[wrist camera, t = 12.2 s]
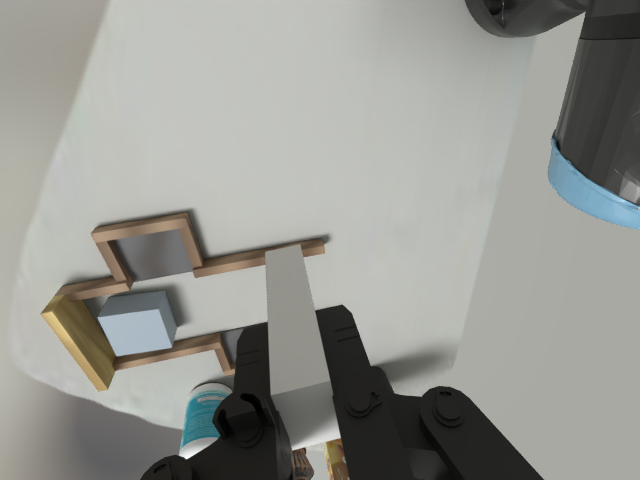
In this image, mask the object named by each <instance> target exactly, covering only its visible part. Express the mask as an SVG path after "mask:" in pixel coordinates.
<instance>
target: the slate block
mask: <svg viewBox="0 0 640 480" xmlns="http://www.w3.org/2000/svg"><path fill="white" fill-rule="evenodd" d="M97 318H98V320H99V322H100V324H101V326H102V328H103V330H104V332H105V334H106V336H107V338H108V340H109V342H110V344H111V346H112V348H113V350H114V352H115V354H116V356H123V355H129V354H135V353H142V352H148V351H155V350H161V349H167V348H172V346H173V342H174V338H175V334H176V330H177V326H176V323H175V320H174V317H173V314H172V311H171V308H170V305H169V302H168V299H167V296H166V293H165V290H163V291H155V292H147V293H140V294H132V295H124V296H116V297H108V299H107V301H106V303H105V305H104V306H103V308H102V310H101V312H100V314H99V315H98V317H97Z"/></svg>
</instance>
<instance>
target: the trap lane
mask: <svg viewBox="0 0 640 480" xmlns="http://www.w3.org/2000/svg"><path fill="white" fill-rule="evenodd" d="M91 236H92V238H93V240H94V241H95V243H96V245H97V247H98V249H99V251H100V252H101V254H102V256H103V258H104V260H105V262H106V264H107V265H108V267H109V269H110V271H111V273H112V275H113V277H109V278H104V279H98V280H93V281H87V282H82V283H77V284H71V285H66V286H62V287H61V288H60V289H59V291H58V292H57V293H56V294H55V296H54V297H53V298H52V300H51V301H50V302H49V303H48V305H47V306H46V307H45V309H44V310H43V311H42V312H41V315H42V317H43V318H44V319H45V321H46V322H47V323H48V325H49V326H50V327H51V329H52V330H53V331H54V333H55V334H56V335H57V337H58V338H59V339H60V341H61V342H62V343H63V345H64V346H65V347H66V349H67V350H68V351H69V353H70V354H71V355H72V357H73V358H74V359H75V361H76V362H77V363H78V365H79V366H80V367H81V369H82V370H83V371H84V373H85V374H86V375H87V377H88V378H89V379H90V381H91V382H92V383H93V385H94V386H95V387H96V389H97V390H98V391H103V390H108V388H109V386H110V383H111V381H112V378H113V376H114V373H115V371H117V370H122V369H126V368H131V367H136V366H140V365H145V364H149V363H154V362H159V361H163V360H168V359H172V358H177V357H181V356H186V355H191V354H195V353H200V352H204V351H209V350H215V352H216V355H217V357H218V360H219V362H220V365H221V367H222V370H223V372H224V375H225V376H229V375H233V374H235V369H236V367H235V364H236V349H237V341H238V339H239V337H240V335H241V333H242V331H243V329H244V328H249V327H253V326H257V325H261V324H266V323H268V322H266V323H261V324H257V325H252V326H247V327H242V328H238V329H233V330H228V331H224V332H219V333H214V334H210V335H205V336H200V337H195V338H191V339H186V340H181V341H177V342H173V346H172V348H167V349H161V350H155V351H148V352H142V353H135V354H129V355H123V356H116V354H115V352H114V350H113V348H112V346H111V345H110V343H109V341H108V340H107V338H106V337H105V335H104V334H103V332H102V330H101V329H100V327H99V326H98V324H97V323H96V321H95V319H94V318H93V316H92V315H91V313H90V312H89V310H88V308H87V307H86V305H85V304H84V302H83V301H82V300H83V299H88V298H93V297H98V296H104V295H109V294H114V293H119V292H125V291H130V289H131V287H132V284H133V282H138V281H143V280H148V279H154V278H159V277H164V276H170V275H175V274H180V273H185V272H191V271H193V274H194V276H195V278H198V277H203V276H208V275H214V274H219V273H224V272H229V271H235V270H240V269H245V268H250V267H256V266H261V265H266V262H265V252H267V251H271V250H276V249H280V248H285V247H289V246H294V245H298V244H300V245H301V250H302V254H303V257H308V256H313V255H318V254H324V253H325V249H324V244H323V241H322V239H321V238H320V239H314V240H309V241H304V242H298V243H293V244H287V245H282V246H277V247H271V248H266V249H260V250H255V251H250V252H244V253H239V254H233V255H228V256H223V257H217V258H212V259H206V260H204V259H203V256H202V253H201V250H200V247H199V245H198V242H197V239H196V236H195V233H194V230H193V227H192V224H191V221H190V218H189V216H188V213H181V214H175V215H169V216H163V217H157V218H151V219H145V220H139V221H133V222H127V223H121V224H115V225H109V226H103V227H97V228H95V229H94V230H93V231H92V233H91Z"/></svg>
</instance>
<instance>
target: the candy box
mask: <svg viewBox="0 0 640 480" xmlns="http://www.w3.org/2000/svg"><path fill="white" fill-rule="evenodd" d="M323 448H324V453H325V457H326V463H327V468H328V472H329V478H330V480H350V479H349V474H348V470H347V465H346V460H345V455H344V451H343V446H342V441H341V438H338V439H335V440H331V441H327V442H323Z"/></svg>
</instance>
